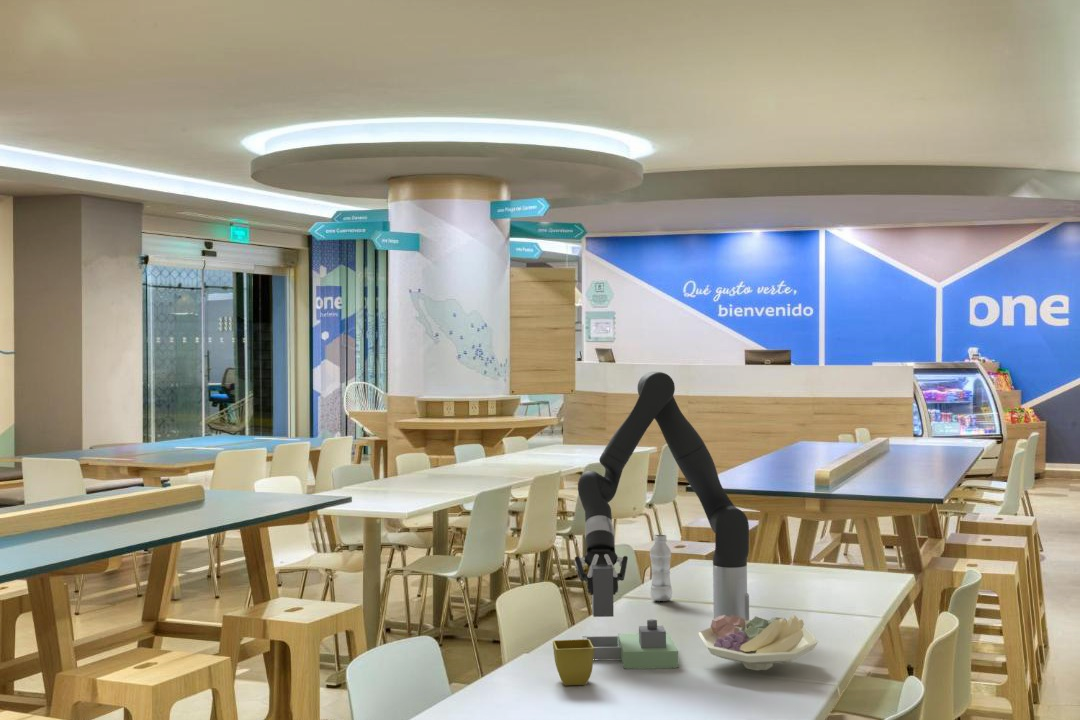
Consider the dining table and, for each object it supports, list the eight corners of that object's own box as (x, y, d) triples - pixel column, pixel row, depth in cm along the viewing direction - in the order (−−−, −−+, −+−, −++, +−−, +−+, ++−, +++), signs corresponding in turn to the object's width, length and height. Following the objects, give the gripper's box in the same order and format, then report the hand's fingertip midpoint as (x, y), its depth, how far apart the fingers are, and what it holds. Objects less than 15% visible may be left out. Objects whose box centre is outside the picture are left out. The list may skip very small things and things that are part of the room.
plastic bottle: (671, 603, 341) (670, 537, 341) (649, 603, 342) (648, 537, 342) (673, 599, 347) (672, 534, 347) (651, 598, 348) (650, 533, 348)
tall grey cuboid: (611, 611, 287) (611, 564, 287) (613, 616, 281) (613, 568, 281) (592, 611, 287) (591, 564, 287) (593, 616, 281) (593, 568, 281)
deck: (668, 646, 290) (667, 607, 290) (678, 667, 270) (677, 626, 270) (582, 647, 290) (582, 609, 290) (586, 669, 270) (585, 627, 270)
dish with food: (794, 690, 251) (793, 626, 251) (679, 673, 266) (678, 613, 266) (833, 660, 275) (832, 602, 275) (725, 646, 290) (724, 591, 290)
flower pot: (552, 678, 263) (552, 639, 263) (590, 676, 264) (589, 638, 264) (556, 689, 254) (556, 649, 254) (595, 687, 255) (594, 647, 255)
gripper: (572, 529, 292) (574, 585, 280) (627, 528, 292) (632, 584, 280) (571, 546, 297) (574, 601, 285) (626, 545, 297) (630, 601, 285)
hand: (603, 592), depth 282 cm, fingers closed on tall grey cuboid, 5 cm apart
